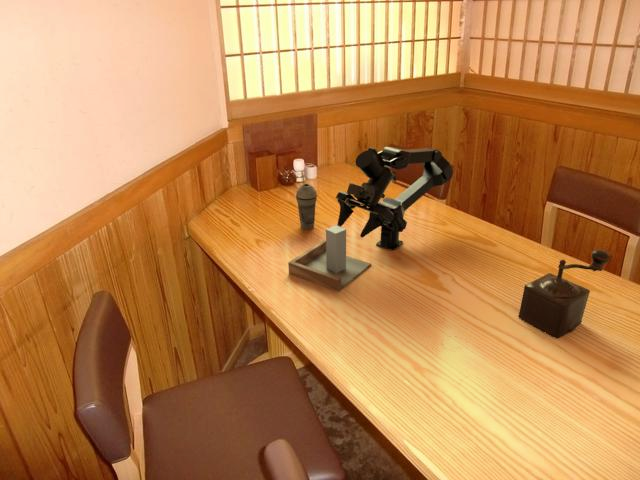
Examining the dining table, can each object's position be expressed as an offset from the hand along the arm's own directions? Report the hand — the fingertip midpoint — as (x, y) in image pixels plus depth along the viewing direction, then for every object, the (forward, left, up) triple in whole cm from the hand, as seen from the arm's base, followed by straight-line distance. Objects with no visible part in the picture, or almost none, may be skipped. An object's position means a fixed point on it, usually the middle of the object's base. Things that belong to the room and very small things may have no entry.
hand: (349, 231), depth 134 cm
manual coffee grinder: (-6, +56, -11) cm, 57 cm away
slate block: (+5, -1, -10) cm, 11 cm away
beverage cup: (-14, -26, -11) cm, 31 cm away
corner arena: (+5, -2, -10) cm, 12 cm away
